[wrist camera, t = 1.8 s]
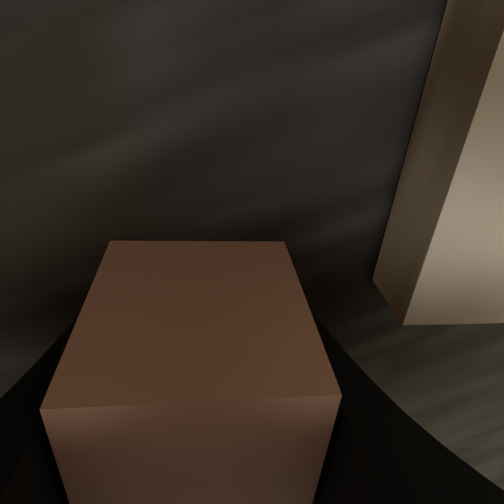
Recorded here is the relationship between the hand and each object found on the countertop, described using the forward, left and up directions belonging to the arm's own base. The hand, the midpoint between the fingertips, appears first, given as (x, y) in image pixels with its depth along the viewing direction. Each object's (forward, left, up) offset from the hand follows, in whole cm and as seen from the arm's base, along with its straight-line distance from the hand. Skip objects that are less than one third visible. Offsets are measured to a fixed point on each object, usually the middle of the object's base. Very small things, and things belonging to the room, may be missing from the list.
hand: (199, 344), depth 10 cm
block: (0, 0, -1) cm, 1 cm away
